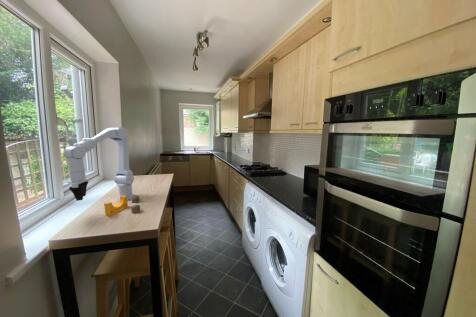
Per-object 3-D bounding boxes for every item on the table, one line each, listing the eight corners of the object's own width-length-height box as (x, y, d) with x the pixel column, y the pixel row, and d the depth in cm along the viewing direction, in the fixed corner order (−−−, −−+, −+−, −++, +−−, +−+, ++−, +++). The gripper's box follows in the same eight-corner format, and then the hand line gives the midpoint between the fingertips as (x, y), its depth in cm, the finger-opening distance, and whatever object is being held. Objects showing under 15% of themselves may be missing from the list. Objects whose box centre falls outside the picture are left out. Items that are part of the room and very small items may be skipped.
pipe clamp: (121, 206, 107) (119, 195, 106) (127, 206, 106) (126, 195, 105) (102, 215, 95) (101, 203, 94) (110, 216, 95) (108, 203, 94)
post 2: (131, 211, 100) (131, 205, 99) (140, 209, 101) (139, 204, 101) (131, 213, 96) (131, 208, 96) (140, 212, 98) (140, 206, 98)
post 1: (131, 201, 113) (131, 196, 113) (139, 200, 115) (138, 195, 115) (131, 203, 110) (131, 198, 110) (139, 202, 112) (139, 197, 111)
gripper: (70, 169, 96) (74, 195, 98) (61, 175, 83) (66, 204, 85) (88, 168, 99) (91, 192, 101) (81, 173, 87) (85, 201, 89)
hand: (81, 198), depth 93 cm, fingers open, 6 cm apart
